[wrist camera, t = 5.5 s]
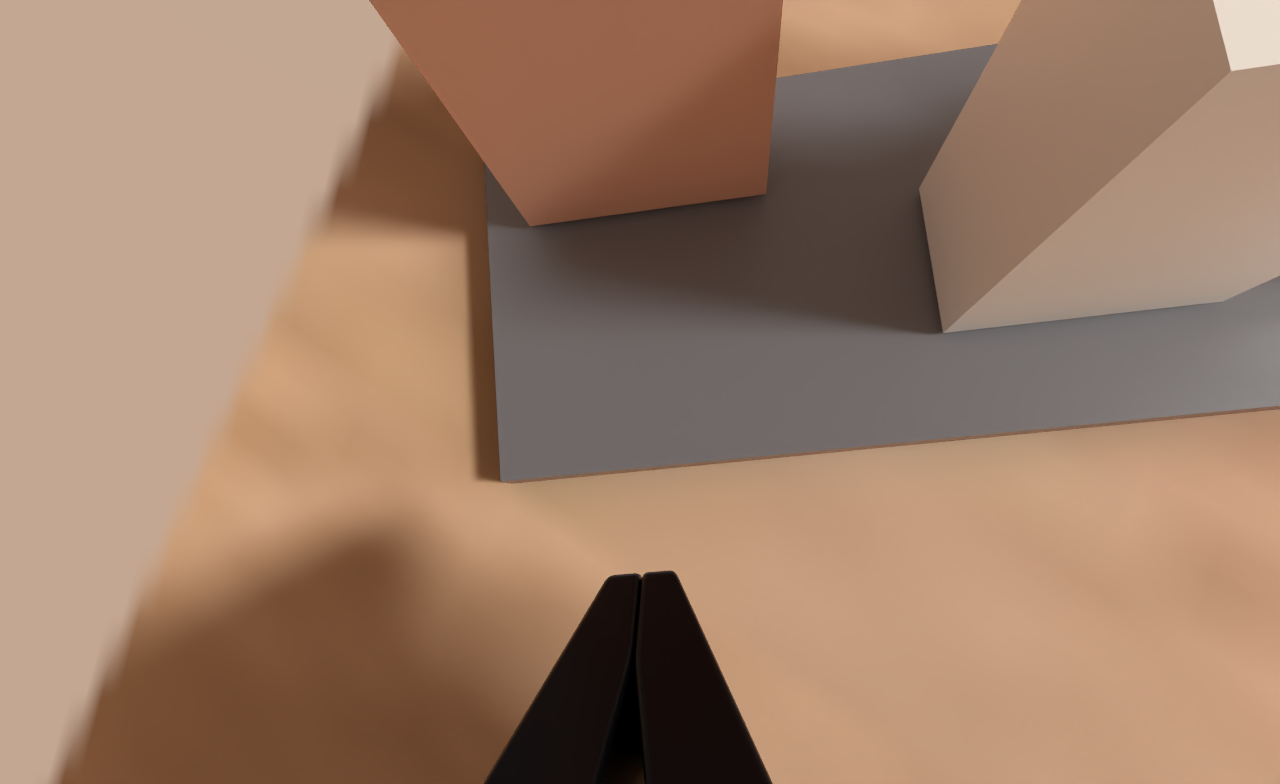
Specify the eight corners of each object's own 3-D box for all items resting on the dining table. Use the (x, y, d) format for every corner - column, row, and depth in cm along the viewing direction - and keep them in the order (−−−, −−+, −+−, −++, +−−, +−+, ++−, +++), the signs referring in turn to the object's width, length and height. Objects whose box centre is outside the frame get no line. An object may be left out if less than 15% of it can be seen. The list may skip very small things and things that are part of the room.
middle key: (1222, 301, 14) (1974, -37, 5) (942, 333, 14) (1231, 71, 6) (1187, 151, 14) (1818, -366, 6) (918, 188, 15) (1152, -238, 6)
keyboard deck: (1751, 363, 13) (1815, 353, 12) (512, 483, 16) (500, 481, 15) (1607, -28, 15) (1656, -59, 14) (493, 141, 17) (481, 123, 17)
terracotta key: (766, 193, 15) (800, -201, 7) (529, 226, 16) (296, -102, 7) (749, 62, 16) (762, -452, 7) (522, 98, 16) (295, -342, 8)
